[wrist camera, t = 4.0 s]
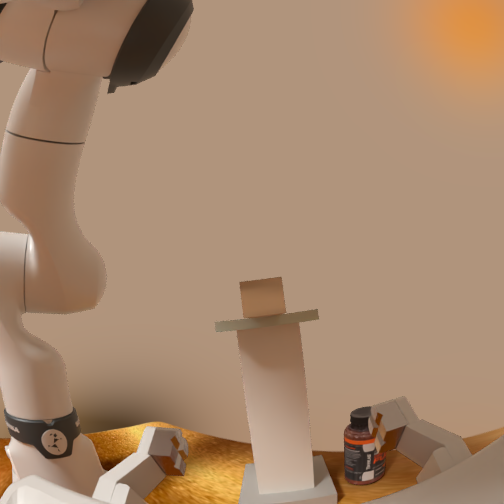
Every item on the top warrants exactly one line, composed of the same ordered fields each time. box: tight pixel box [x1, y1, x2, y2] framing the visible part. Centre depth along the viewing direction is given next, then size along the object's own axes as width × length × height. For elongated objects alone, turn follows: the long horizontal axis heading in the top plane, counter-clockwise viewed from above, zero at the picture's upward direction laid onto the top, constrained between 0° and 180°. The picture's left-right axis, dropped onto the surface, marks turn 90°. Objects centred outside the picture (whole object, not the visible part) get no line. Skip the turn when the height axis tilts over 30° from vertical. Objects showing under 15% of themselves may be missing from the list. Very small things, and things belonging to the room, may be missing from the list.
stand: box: [215, 309, 337, 504], centre depth 30 cm, size 14×12×26 cm
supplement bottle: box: [344, 407, 386, 485], centre depth 28 cm, size 6×6×11 cm
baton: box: [240, 277, 286, 318], centre depth 29 cm, size 22×3×2 cm, turn 176°
